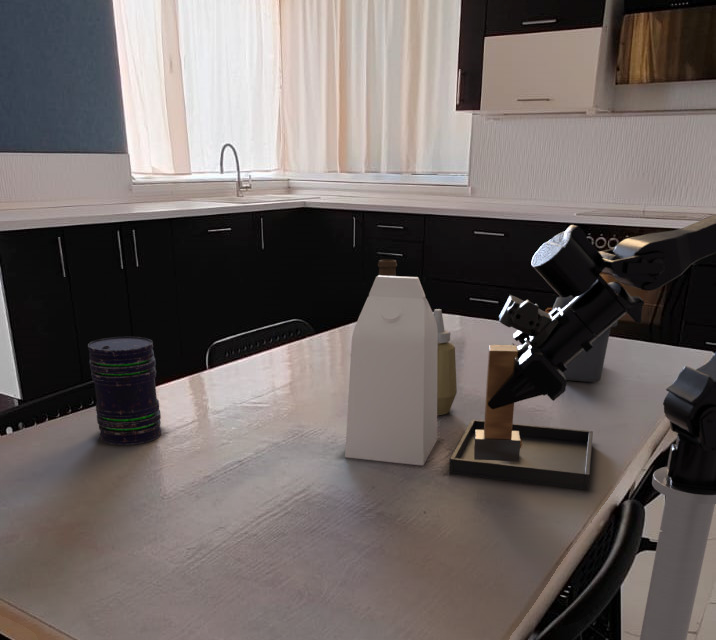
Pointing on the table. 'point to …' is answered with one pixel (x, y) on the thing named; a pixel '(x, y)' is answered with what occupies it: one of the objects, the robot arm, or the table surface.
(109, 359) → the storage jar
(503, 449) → the wooden block on stand
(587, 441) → the pan
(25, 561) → the table surface
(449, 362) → the squeeze bottle
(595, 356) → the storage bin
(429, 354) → the milk
